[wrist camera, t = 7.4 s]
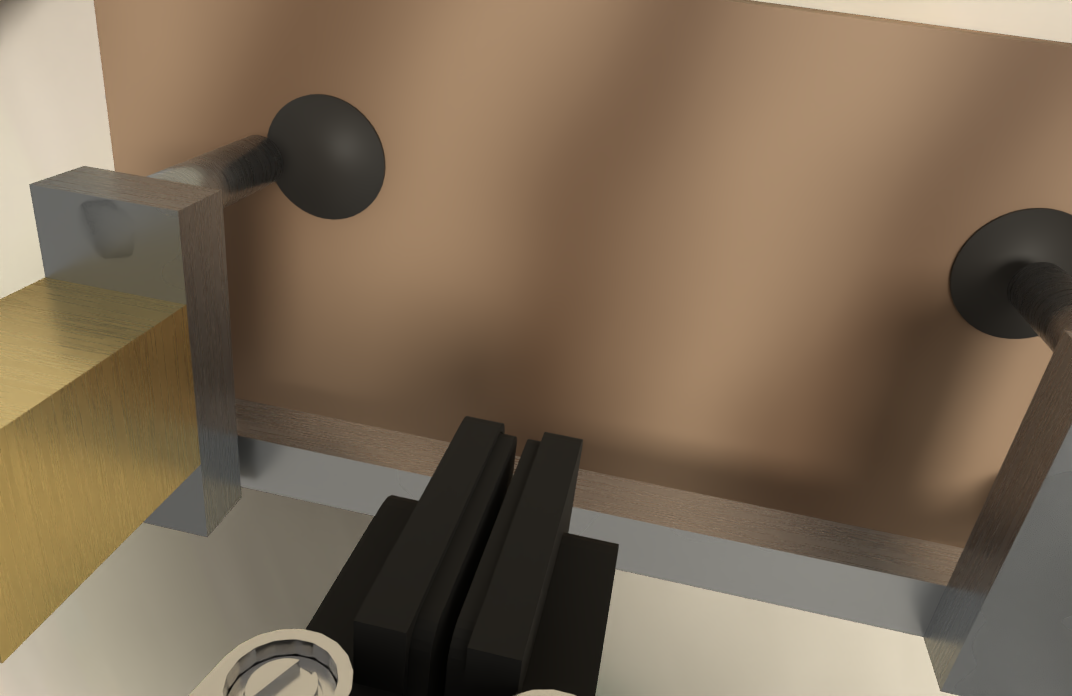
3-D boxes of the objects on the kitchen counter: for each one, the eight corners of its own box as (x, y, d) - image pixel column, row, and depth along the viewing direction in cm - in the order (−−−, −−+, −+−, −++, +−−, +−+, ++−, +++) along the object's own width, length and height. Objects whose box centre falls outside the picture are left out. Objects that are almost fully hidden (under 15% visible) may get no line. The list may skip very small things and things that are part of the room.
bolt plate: (1256, 68, 14) (1645, 147, 8) (1005, 575, 20) (1133, 842, 14) (131, -83, 17) (-181, -104, 11) (180, 402, 22) (-12, 565, 16)
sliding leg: (315, 144, 16) (-83, 336, 8) (318, 408, 19) (24, 748, 11) (202, 126, 16) (-294, 292, 8) (221, 388, 19) (-136, 706, 11)
